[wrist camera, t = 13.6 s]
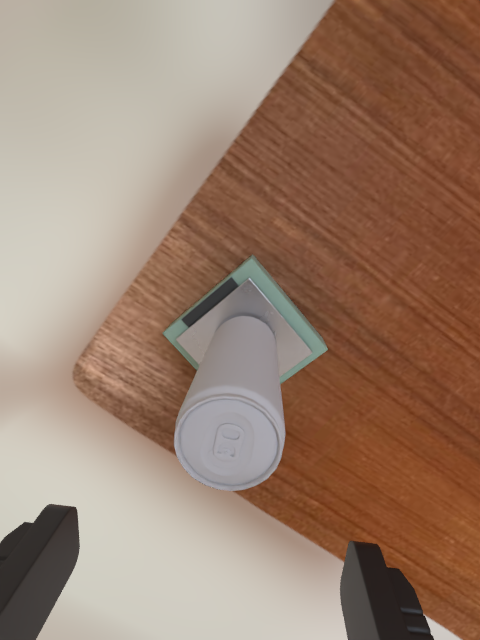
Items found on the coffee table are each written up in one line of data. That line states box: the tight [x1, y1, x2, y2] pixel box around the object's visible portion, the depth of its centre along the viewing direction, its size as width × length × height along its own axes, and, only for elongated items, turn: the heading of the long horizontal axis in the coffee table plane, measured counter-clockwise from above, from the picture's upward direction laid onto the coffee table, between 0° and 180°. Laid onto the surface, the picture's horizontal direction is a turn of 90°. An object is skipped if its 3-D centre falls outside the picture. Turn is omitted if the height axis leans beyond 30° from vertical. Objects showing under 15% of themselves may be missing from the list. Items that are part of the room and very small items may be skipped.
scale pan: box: [176, 276, 313, 377], centre depth 27 cm, size 7×7×1 cm
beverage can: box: [174, 316, 285, 491], centre depth 21 cm, size 5×5×12 cm
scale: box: [163, 255, 328, 384], centre depth 28 cm, size 9×9×3 cm
